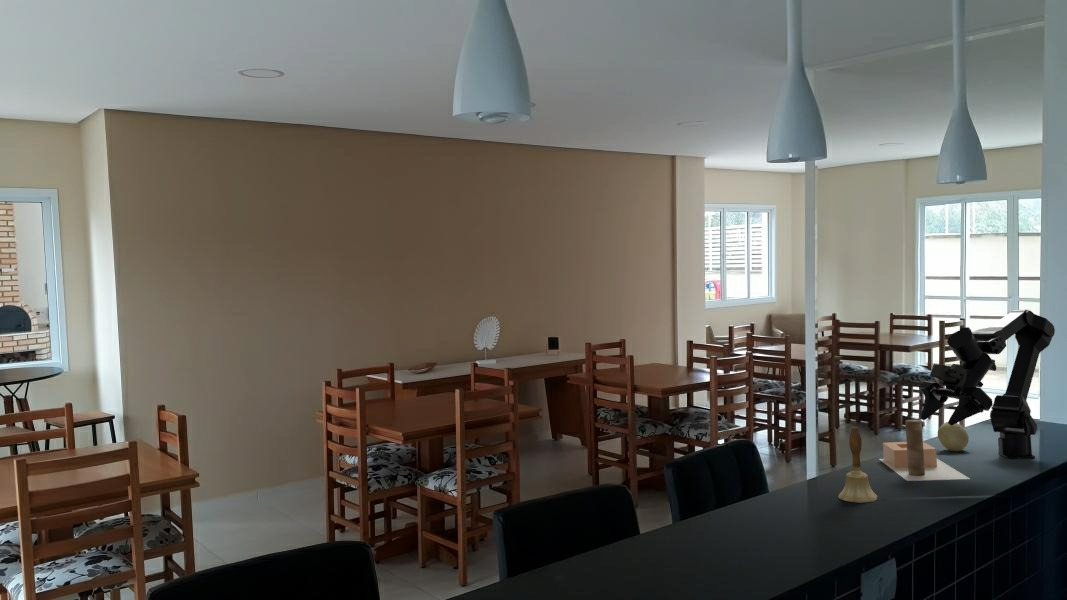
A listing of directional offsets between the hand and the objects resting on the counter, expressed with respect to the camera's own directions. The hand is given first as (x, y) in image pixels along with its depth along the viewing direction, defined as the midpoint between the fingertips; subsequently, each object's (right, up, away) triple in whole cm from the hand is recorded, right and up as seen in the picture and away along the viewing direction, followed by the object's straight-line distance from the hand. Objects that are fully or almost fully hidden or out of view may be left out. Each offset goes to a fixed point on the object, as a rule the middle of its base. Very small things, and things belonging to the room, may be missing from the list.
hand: (935, 421), depth 195 cm
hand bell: (-26, -15, -16) cm, 34 cm away
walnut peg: (-5, -13, -1) cm, 14 cm away
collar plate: (-1, -13, +4) cm, 14 cm away
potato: (+17, -12, +23) cm, 30 cm away
